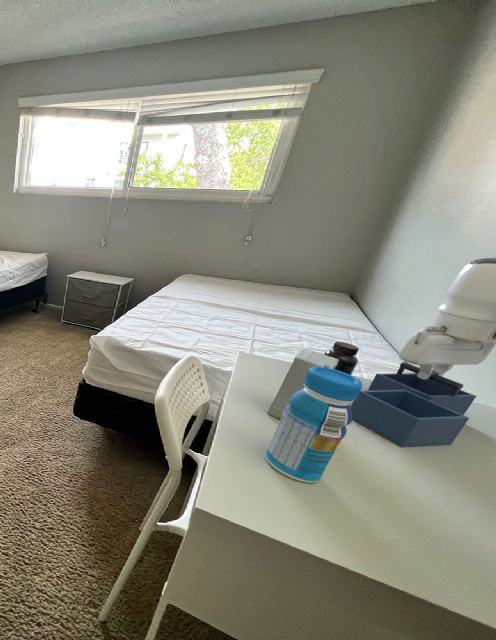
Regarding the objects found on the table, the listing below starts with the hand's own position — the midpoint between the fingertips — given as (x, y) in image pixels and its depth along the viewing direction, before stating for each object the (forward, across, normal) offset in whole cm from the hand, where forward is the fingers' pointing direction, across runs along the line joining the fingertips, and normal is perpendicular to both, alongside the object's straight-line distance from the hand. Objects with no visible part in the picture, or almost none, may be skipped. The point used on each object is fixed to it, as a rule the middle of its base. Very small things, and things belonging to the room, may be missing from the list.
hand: (427, 378), depth 86 cm
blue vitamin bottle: (+9, -54, -17) cm, 57 cm away
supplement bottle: (+9, -9, +12) cm, 18 cm away
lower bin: (+9, -16, -8) cm, 20 cm away
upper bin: (+9, 0, 0) cm, 9 cm away
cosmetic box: (+9, -38, -2) cm, 39 cm away
